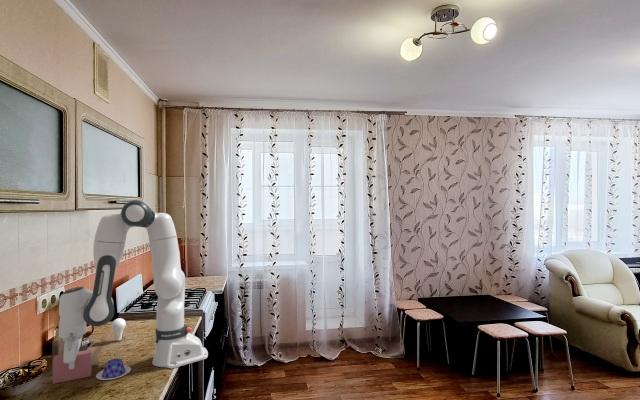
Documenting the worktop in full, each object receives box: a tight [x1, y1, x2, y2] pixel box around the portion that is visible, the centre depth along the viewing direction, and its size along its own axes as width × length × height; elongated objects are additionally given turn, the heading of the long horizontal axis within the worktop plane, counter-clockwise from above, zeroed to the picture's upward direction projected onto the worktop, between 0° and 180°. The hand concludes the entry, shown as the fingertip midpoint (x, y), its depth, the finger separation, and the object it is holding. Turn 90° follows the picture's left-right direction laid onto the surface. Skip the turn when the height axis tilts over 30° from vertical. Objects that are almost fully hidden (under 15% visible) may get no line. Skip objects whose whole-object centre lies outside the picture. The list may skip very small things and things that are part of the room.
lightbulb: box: [111, 317, 127, 342], centre depth 174 cm, size 6×6×11 cm
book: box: [52, 349, 93, 385], centre depth 137 cm, size 12×4×9 cm, turn 119°
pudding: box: [95, 357, 132, 381], centre depth 140 cm, size 12×12×5 cm
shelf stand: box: [49, 330, 102, 377], centre depth 151 cm, size 16×22×13 cm
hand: (72, 365), depth 137 cm, fingers closed on book, 4 cm apart
